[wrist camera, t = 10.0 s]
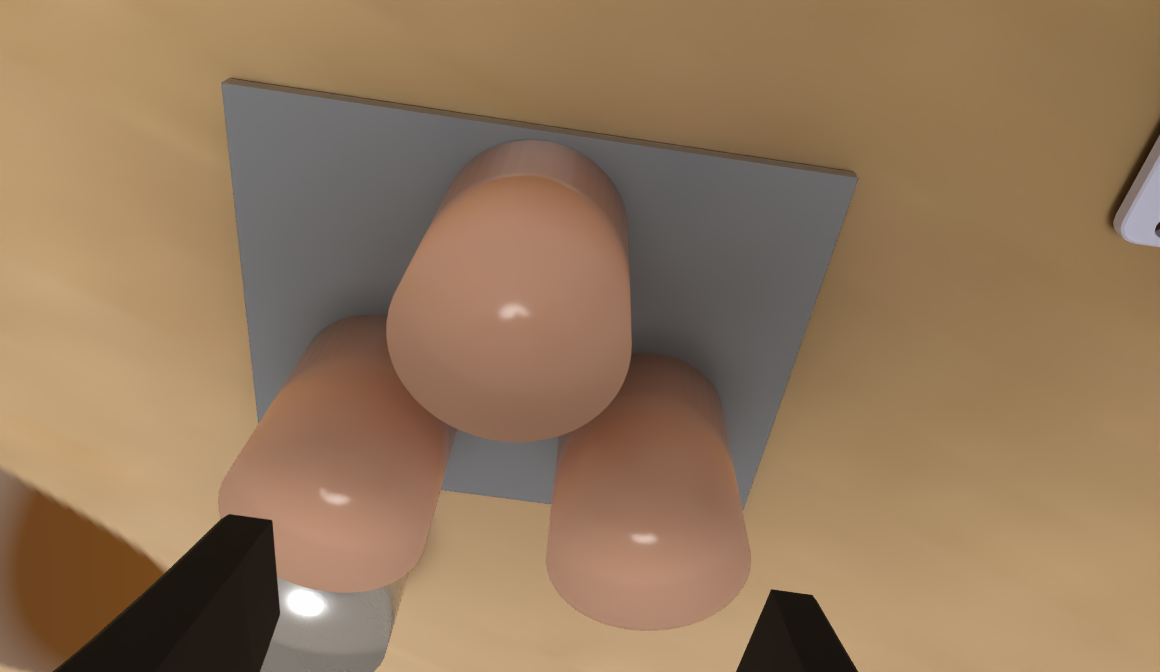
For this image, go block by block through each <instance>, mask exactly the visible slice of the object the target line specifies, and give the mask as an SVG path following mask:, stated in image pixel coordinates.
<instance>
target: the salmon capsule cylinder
mask: <svg viewBox="0 0 1160 672" xmlns="http://www.w3.org/2000/svg"><path fill="white" fill-rule="evenodd" d="M546 564H547V571H548V575H549V578H550V580H551V582H552V584H553V586H554V588H555V589H556V591H557V592H558V593H559V595H560V596H561V597H562V598H563V599H564V600H565V601H566V602H567V603H568V604H569V605H570V606H572V607H573V608H574V609H575V610H577V611H579V612H580V613H582V614H583V615H585V616H587V617H589V618H591V619H593V620H595V621H598V622H601V623H604V624H606V625H610V626H614V627H618V628H624V629H630V630H641V631H656V630H668V629H673V628H679V627H683V626H687V625H690V624H693V623H696V622H699V621H701V620H704V619H706V618H708V617H710V616H712V615H714V614H715V613H717V612H718V611H720V610H722V609H723V608H724V607H725V606H727V605H728V604H729V603H730V602H731V601H732V600H733V599H734V598H735V597H736V596H737V595H738V594H739V592H740V591H741V589H742V588H743V586H744V584H745V582H746V580H747V578H748V575H749V571H750V565H751V555H750V548H749V543H748V537H747V532H746V527H745V522H744V516H743V511H742V506H741V501H740V495H739V490H738V485H737V480H736V474H735V469H734V464H733V459H732V453H731V448H730V443H729V438H728V433H727V427H726V422H725V417H724V412H723V406H722V403H721V400H720V397H719V395H718V393H717V391H716V389H715V388H714V386H713V385H712V383H711V382H710V381H709V380H708V379H707V378H706V377H705V376H704V375H703V374H702V373H701V372H700V371H698V370H697V369H695V368H694V367H692V366H691V365H689V364H687V363H685V362H683V361H681V360H678V359H675V358H672V357H669V356H664V355H659V354H650V353H634V354H631V360H630V364H629V369H628V372H627V375H626V378H625V380H624V383H623V385H622V387H621V388H620V390H619V392H618V394H617V395H616V396H615V398H614V399H613V400H612V402H611V403H610V404H609V405H608V406H607V407H606V408H605V409H604V410H603V411H602V412H601V413H600V414H599V415H598V416H596V417H595V418H594V419H592V420H591V421H590V422H588V423H587V424H585V425H583V426H581V427H579V428H578V429H576V430H574V431H571V432H569V433H566V434H564V435H561V436H559V437H558V447H557V457H556V467H555V476H554V486H553V496H552V506H551V515H550V525H549V535H548V545H547V556H546Z"/></svg>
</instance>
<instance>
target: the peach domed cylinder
mask: <svg viewBox="0 0 1160 672" xmlns="http://www.w3.org/2000/svg"><path fill="white" fill-rule="evenodd" d="M386 322H387V316H378V315H361V316H354V317H349V318H345V319H342V320H339V321H337V322H335V323H332V324H330V325H329V326H327V327H326V328H324V329H323V330H321V331H320V332H319V333H318V334H317V335H316V336H315V337H314V338H313V339H312V341H311V342H310V343H309V345H308V347H307V348H306V350H305V351H304V353H303V354H302V356H301V358H300V359H299V361H298V362H297V364H296V365H295V367H294V369H293V370H292V372H291V373H290V375H289V377H288V378H287V380H286V381H285V383H284V384H283V386H282V388H281V389H280V391H279V392H278V394H277V395H276V397H275V399H274V400H273V402H272V403H271V405H270V407H269V408H268V410H267V411H266V413H265V414H264V416H263V418H262V419H261V421H260V422H259V424H258V425H257V427H256V429H255V430H254V432H253V433H252V435H251V437H250V438H249V440H248V441H247V443H246V444H245V446H244V448H243V449H242V451H241V452H240V454H239V455H238V457H237V459H236V460H235V462H234V463H233V465H232V467H231V468H230V470H229V471H228V473H227V475H226V476H225V478H224V480H223V482H222V484H221V487H220V490H219V498H218V504H219V512H220V516H221V519H222V518H223V517H225V516H227V515H228V514H233V515H240V516H247V517H254V518H262V519H269V520H272V522H273V534H274V546H275V558H276V570H277V577H279V578H281V579H284V580H286V581H288V582H291V583H294V584H297V585H299V586H303V587H306V588H310V589H314V590H320V591H326V592H338V593H353V592H363V591H368V590H373V589H377V588H380V587H383V586H386V585H389V584H391V583H393V582H395V581H397V580H398V579H400V578H402V577H403V576H405V575H406V574H407V573H408V572H409V571H410V570H412V568H413V567H414V566H415V565H416V564H417V562H418V561H419V559H420V557H421V555H422V553H423V550H424V547H425V544H426V540H427V537H428V533H429V530H430V526H431V523H432V519H433V515H434V512H435V508H436V505H437V501H438V497H439V494H440V490H441V487H442V483H443V480H444V476H445V472H446V469H447V465H448V462H449V458H450V455H451V451H452V447H453V444H454V440H455V437H456V433H457V429H456V428H454V427H452V426H450V425H448V424H447V423H445V422H443V421H442V420H440V419H438V418H437V417H435V416H434V415H433V414H431V413H430V412H429V411H427V410H426V409H425V408H424V407H423V406H422V405H421V404H420V403H419V402H418V401H417V400H415V399H414V397H413V396H412V395H411V394H410V392H409V391H408V390H407V389H406V388H405V386H404V384H403V383H402V381H401V380H400V378H399V376H398V375H397V372H396V370H395V368H394V366H393V364H392V361H391V357H390V354H389V351H388V345H387V338H386Z"/></svg>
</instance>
